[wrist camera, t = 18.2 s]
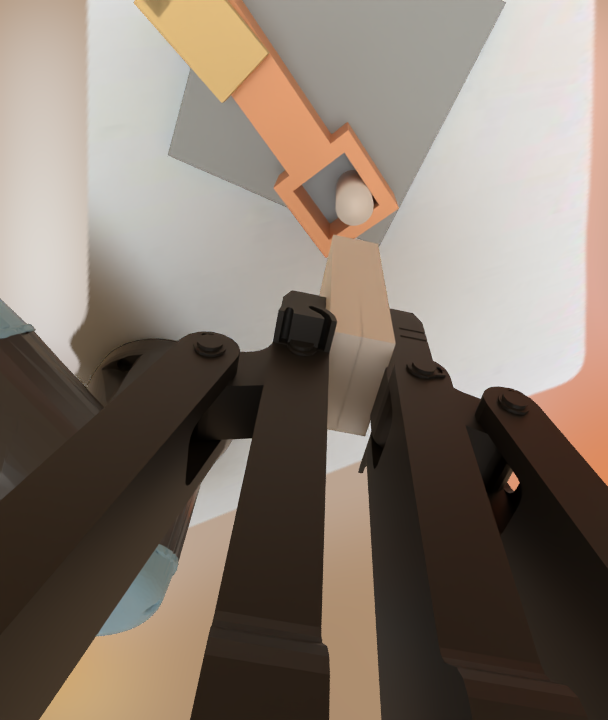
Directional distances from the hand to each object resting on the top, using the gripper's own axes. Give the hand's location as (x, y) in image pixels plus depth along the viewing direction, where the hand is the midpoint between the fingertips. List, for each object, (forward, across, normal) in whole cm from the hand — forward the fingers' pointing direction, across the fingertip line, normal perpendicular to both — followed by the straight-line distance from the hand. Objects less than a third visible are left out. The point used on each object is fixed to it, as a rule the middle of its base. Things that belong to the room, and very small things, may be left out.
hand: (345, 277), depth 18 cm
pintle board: (+26, +4, -4) cm, 27 cm away
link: (+25, +4, -1) cm, 26 cm away
